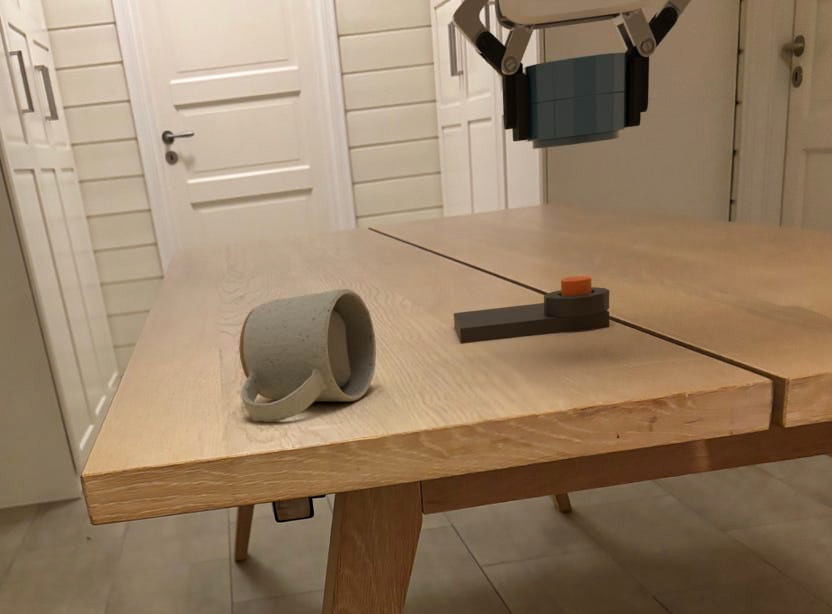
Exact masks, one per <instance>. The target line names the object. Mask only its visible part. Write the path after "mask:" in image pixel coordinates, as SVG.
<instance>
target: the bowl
mask: <svg viewBox="0 0 832 614" xmlns="http://www.w3.org/2000/svg"><path fill="white" fill-rule="evenodd" d="M523 73H525V75H527V76H528V107H529V138H526V140H524V142H525V143H529V142H531V148H532V149H533V150H536V149H537V150H538V149H547V148H555V147H564V146H573V145H582V144H589V143H596V142H605V141H612V140H617V139H620V131H624V130H627V129H628V127H627V84H628V53H625V52H610V53H609V52H608V53H601V54H600V53H599V54H592V55H584V56H583V55H582V56H576V57H570V58H564V59H557V60H556V59H555V60H550V61H546V62H545V61H544V62H540V63H535V64H531V65H526V66H525V67H524V66H523Z"/></svg>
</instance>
